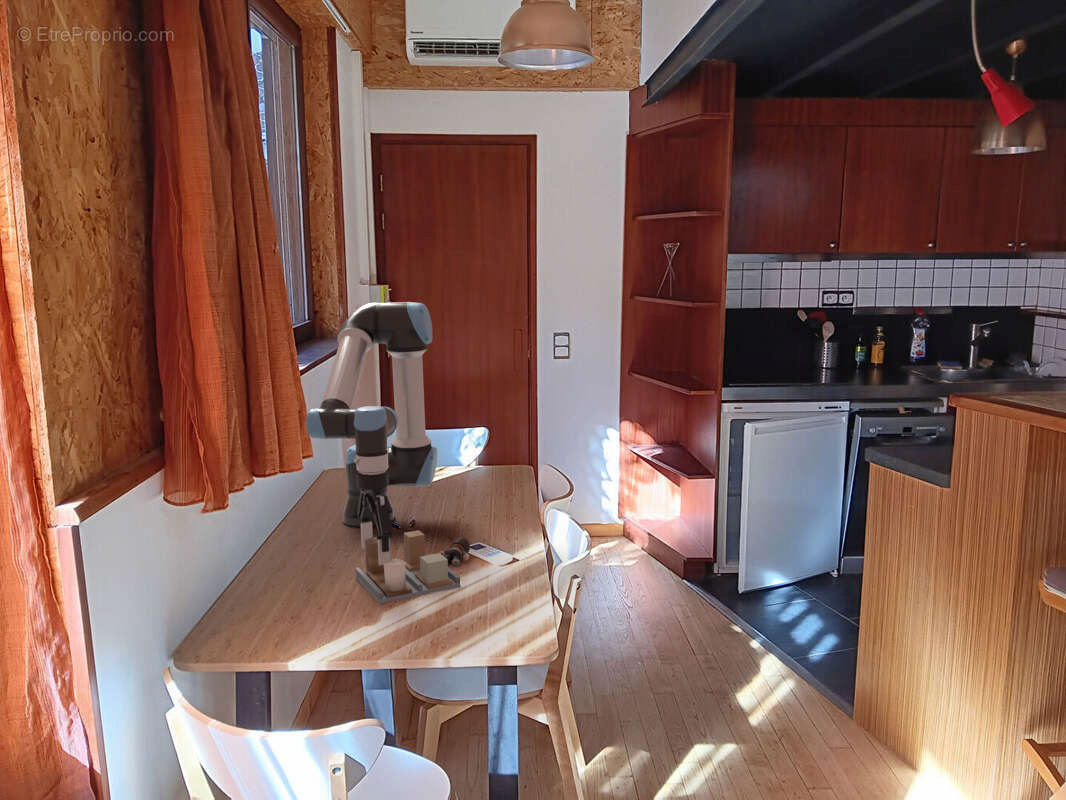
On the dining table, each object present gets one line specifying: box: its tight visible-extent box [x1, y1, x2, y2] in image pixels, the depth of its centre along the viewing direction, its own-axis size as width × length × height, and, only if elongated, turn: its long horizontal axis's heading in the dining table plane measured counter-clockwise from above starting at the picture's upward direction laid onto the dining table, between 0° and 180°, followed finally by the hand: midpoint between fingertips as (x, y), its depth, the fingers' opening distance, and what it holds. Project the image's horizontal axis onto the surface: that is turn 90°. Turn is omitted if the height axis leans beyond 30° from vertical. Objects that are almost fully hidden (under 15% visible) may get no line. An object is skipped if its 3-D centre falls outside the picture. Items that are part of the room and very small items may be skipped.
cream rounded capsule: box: [384, 558, 406, 592], centre depth 193 cm, size 5×5×6 cm
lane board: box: [354, 529, 462, 605], centre depth 201 cm, size 19×20×9 cm
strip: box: [364, 536, 412, 598], centre depth 199 cm, size 19×6×8 cm, turn 28°
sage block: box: [420, 552, 449, 584], centre depth 199 cm, size 5×5×5 cm
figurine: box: [439, 536, 471, 567], centre depth 217 cm, size 8×5×10 cm
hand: (375, 555), depth 205 cm, fingers open, 13 cm apart
